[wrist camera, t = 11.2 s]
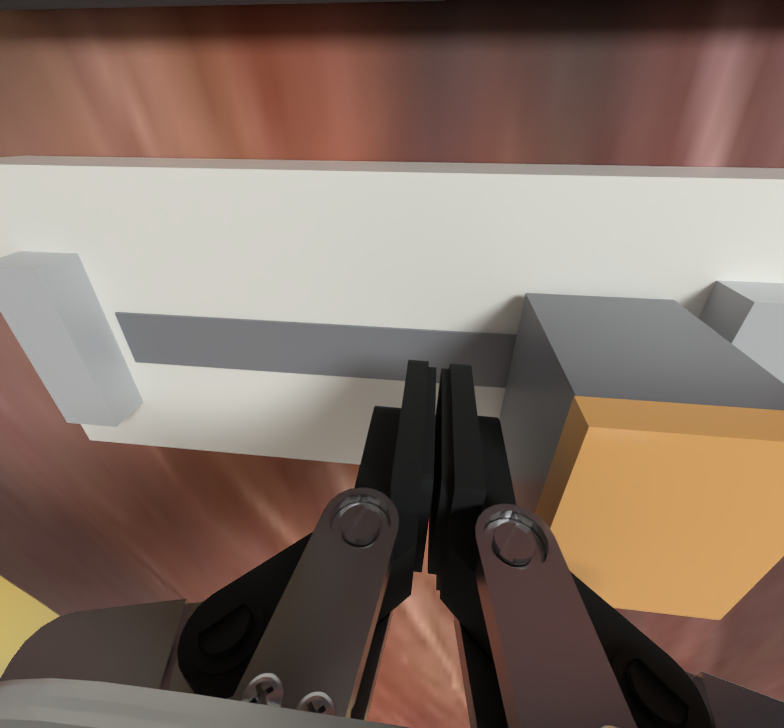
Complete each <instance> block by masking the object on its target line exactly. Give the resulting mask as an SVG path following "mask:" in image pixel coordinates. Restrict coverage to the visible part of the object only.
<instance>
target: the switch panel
mask: <svg viewBox="0 0 784 728" xmlns="http://www.w3.org/2000/svg"><path fill="white" fill-rule="evenodd" d="M525 293H538V294H559V295H581V296H602V297H623V298H645V299H666V300H675V301H676V302H678V303H679V304H680V305H682V306H683V307H684V308H686V309H687V310H688V311H689V312H691V313H692V314H693V315H695V316H696V317H697V318H699V319H700V320H701V321H703V322H704V323H705V324H706V325H708V326H709V327H710V328H712V329H713V330H714V331H716V332H717V333H718V334H720V335H721V336H722V337H723V338H725V339H726V340H727V341H729V342H730V343H731V344H733V345H734V346H735V347H737V348H738V349H739V350H741V351H742V352H743V353H744V354H746V355H747V356H748V357H750V358H751V359H752V360H754V361H755V362H756V363H758V364H759V365H760V366H761V367H763V368H764V369H765V370H767V371H768V372H769V373H771V374H772V375H773V376H775V377H776V378H777V379H778V380H780V381H781V382H782V383H784V168H735V167H675V166H616V165H556V164H496V163H436V162H376V161H317V160H257V159H197V158H137V157H77V156H14V157H1V158H0V312H1V313H2V315H3V317H4V318H5V320H6V322H7V323H8V325H9V327H10V328H11V330H12V332H13V333H14V335H15V337H16V338H17V340H18V342H19V343H20V345H21V347H22V348H23V350H24V352H25V353H26V355H27V357H28V358H29V360H30V362H31V363H32V365H33V367H34V368H35V370H36V372H37V373H38V375H39V377H40V378H41V380H42V382H43V383H44V385H45V387H46V388H47V390H48V392H49V393H50V395H51V397H52V398H53V400H54V401H55V403H56V405H57V406H58V408H59V410H60V411H61V413H62V415H63V416H64V418H65V420H66V421H67V423H77V424H81V426H82V427H83V429H84V431H85V433H86V434H87V436H88V438H89V439H90V440H94V441H105V442H116V443H127V444H138V445H149V446H160V447H171V448H182V449H193V450H205V451H216V452H227V453H238V454H249V455H260V456H271V457H282V458H293V459H304V460H315V461H326V462H337V463H348V464H359V465H360V463H361V459H362V455H363V451H364V447H365V442H366V438H367V434H368V430H369V426H370V421H371V417H372V413H373V409H374V407H375V406H384V407H395V408H401V407H402V400H403V393H404V386H405V379H406V372H407V365H408V360H418V361H429V366H428V367H436V407H437V399H438V391H439V382H440V374H441V368H447V369H449V365H450V363H452V364H464V365H471V367H472V374H473V382H474V390H475V398H476V407H477V415H478V416H488V417H498V418H500V414H501V409H502V404H503V399H504V394H505V390H506V385H507V380H508V375H509V370H510V366H511V361H512V356H513V351H514V346H515V342H516V337H517V332H518V327H519V322H520V318H521V313H522V308H523V303H524V298H525ZM435 415H436V408H435Z"/></svg>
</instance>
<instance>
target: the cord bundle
mask: <svg viewBox="0 0 784 728" xmlns="http://www.w3.org/2000/svg"><path fill="white" fill-rule="evenodd" d="M397 1H443V0H0V10H33V9H79V8H124V7H170V6H215V5H261V4H306V3H352V2H397Z"/></svg>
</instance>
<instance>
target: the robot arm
mask: <svg viewBox="0 0 784 728" xmlns="http://www.w3.org/2000/svg"><path fill="white" fill-rule="evenodd" d="M428 366H429V361H418V360H408V365H407V372H406V379H405V386H404V393H403V400H402V407H401V408H395V407H384V406H375V407H374V409H373V413H372V417H371V421H370V426H369V430H368V434H367V438H366V442H365V447H364V451H363V455H362V459H361V463H360V467H359V472H358V476H357V480H356V484H355V488H354V489H349V490H346V491H344V492H342V493H339V494H338V495H337V496H336V497H334V498H333V499H332V500H331V501H330V502H329V503H328V505H327V506H326V508H325V509H324V511H323V513H322V515H321V517H320V519H319V521H318V523H317V525H316V527H315V529H314V531H313V532H312V533H310V534H309V535H307V536H305V537H304V538H302V539H301V540H299V541H297V542H296V543H294V544H293V545H291V546H289V547H288V548H286V549H285V550H283V551H281V552H280V553H278V554H277V555H275V556H273V557H272V558H270V559H269V560H267V561H265V562H264V563H262V564H261V565H259V566H257V567H256V568H254V569H253V570H251V571H249V572H248V573H246V574H245V575H243V576H241V577H240V578H238V579H237V580H235V581H233V582H232V583H230V584H229V585H227V586H225V587H224V588H222V589H221V590H219V591H217V592H216V593H214V594H213V595H211V596H210V597H209V598H208V599H206V600H205V601H204V602H198V603H190V604H189V603H188V601H187V599H181V600H172V601H163V602H155V603H146V604H137V605H129V606H120V607H112V608H103V609H94V610H86V611H77V612H73V613H70V614H66V615H63V616H60V617H58V618H56V619H55V620H53V621H51V622H49V623H47V624H46V625H44V626H43V627H41V628H40V629H39V630H38V631H36V632H35V633H34V634H33V635H32V636H31V637H30V638H29V639H27V640H26V641H25V642H24V644H23V645H22V646H21V647H20V649H19V650H18V651H17V653H16V654H15V655H14V657H13V658H12V659H11V661H10V663H9V664H8V666H7V668H6V670H5V671H4V673H3V675H2V676H1V678H0V728H408V727H401V726H395V725H389V724H383V723H376V722H370V721H367V717H368V713H369V709H370V705H371V701H372V696H373V692H374V688H375V684H376V680H377V676H378V672H379V668H380V664H381V660H382V655H383V651H384V647H385V643H386V639H387V635H388V631H389V627H390V623H391V618H392V614H393V609H394V608H396V607H397V606H398V605H399V604H400V603H401V602H403V601H404V600H405V599H406V598H407V597H409V596H410V595H411V589H412V580H413V571H415V572H422V566H423V559H424V551H425V544H426V537H427V529H428V522H429V542H428V573H429V574H436V575H437V577H436V590H440V599H441V600H442V601H443V603H444V604H445V605H446V606H447V607H448V609H449V610H450V611H451V612H452V613H453V615H454V626H455V632H456V638H457V645H458V651H459V657H460V664H461V670H462V676H463V683H464V689H465V695H466V702H467V708H468V714H469V721H470V727H471V728H784V702H782V701H779V700H777V699H774V698H771V697H769V696H766V695H763V694H761V693H758V692H755V691H753V690H750V689H747V688H745V687H742V686H739V685H737V684H734V683H731V682H728V681H726V680H723V679H720V678H718V677H715V676H712V675H710V674H707V673H704V672H702V671H701V672H700V673H699V674H697V675H694V674H691V673H688V672H686V671H684V670H683V669H682V668H681V667H680V666H679V665H678V664H677V663H676V662H675V661H674V660H673V659H672V658H671V657H670V656H669V655H668V654H667V653H665V652H664V651H663V650H662V649H661V648H659V647H658V646H657V645H656V644H655V643H654V642H652V641H651V640H650V639H649V638H648V637H647V636H645V635H644V634H643V633H642V632H641V631H640V630H638V629H637V628H636V627H635V626H634V625H633V624H631V623H630V622H629V621H628V620H627V619H626V618H624V617H623V616H622V615H621V614H620V613H619V612H617V611H616V610H615V609H614V608H613V607H612V606H610V605H609V604H608V603H607V602H606V601H605V600H603V599H602V598H601V597H600V596H599V595H598V594H596V593H595V592H594V591H593V590H592V589H590V588H589V587H588V586H587V585H586V584H585V583H583V582H582V581H581V580H580V579H579V578H578V577H576V576H575V575H574V574H573V573H572V572H571V571H570V570H569V568H568V566H567V563H566V561H565V559H564V557H563V554H562V552H561V550H560V547H559V545H558V543H557V540H556V538H555V536H554V534H553V533H552V531H551V529H550V528H549V526H548V525H547V524H546V523H545V522H544V521H543V520H542V519H541V518H540V517H539V516H538V515H536V514H534V513H533V512H531V511H530V510H528V509H526V508H523V507H520V506H518V505H516V500H515V495H514V490H513V484H512V479H511V474H510V469H509V464H508V459H507V454H506V449H505V443H504V438H503V433H502V428H501V423H500V420H499V418H498V417H488V416H478V415H477V407H476V398H475V390H474V382H473V374H472V367H471V365H464V364H452V363H450V365H449V369H447V368H441V374H440V382H439V391H438V399H437V407H436V367H428ZM435 408H436V415H435Z"/></svg>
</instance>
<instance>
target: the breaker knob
mask: <svg viewBox="0 0 784 728" xmlns="http://www.w3.org/2000/svg"><path fill="white" fill-rule="evenodd" d="M499 420H500V423H501V428H502V433H503V438H504V443H505V449H506V454H507V459H508V464H509V469H510V474H511V479H512V484H513V490H514V495H515V500H516V505H518V506H520V507H523V508H526V509H528V510H530V511H531V512H533V513H534V514H536V515H538V516H539V517H540V518H541V519H542V520H543V521H544V522H545V523H546V524H547V525H548V526H549V528H550V529H551V531H552V533H553V534H554V536H555V538H556V540H557V543H558V545H559V547H560V550H561V552H562V554H563V557H564V559H565V561H566V563H567V566H568V568H569V570H570V571H571V572H572V573H573V574H574V575H575V576H576V577H578V578H579V579H580V580H581V581H582V582H583V583H585V584H586V585H587V586H588V587H589V588H590V589H592V590H593V591H594V592H595V593H596V594H598V595H599V596H600V597H601V598H602V599H603V600H605V601H606V602H607V603H608V604H609V605H610V606H612V607H613V608H622V609H630V610H638V611H647V612H655V613H664V614H672V615H681V616H689V617H698V618H706V619H715V620H721V619H722V618H723V617H724V616H725V615H726V614H727V612H728V611H729V610H730V609H731V608H732V607H733V606H734V605H735V604H736V603H737V602H738V601H739V600H740V599H741V598H742V597H743V596H744V595H745V594H746V593H747V592H748V591H749V590H750V589H751V588H752V587H753V586H754V585H755V584H756V583H757V582H758V581H759V580H760V579H761V578H762V577H763V576H764V575H765V574H766V573H767V572H768V571H769V570H770V569H771V568H772V567H773V566H774V565H775V564H776V563H777V562H778V561H779V560H780V559H781V558H782V557H783V556H784V383H782V382H781V381H780V380H778V379H777V378H776V377H775V376H773V375H772V374H771V373H769V372H768V371H767V370H765V369H764V368H763V367H761V366H760V365H759V364H758V363H756V362H755V361H754V360H752V359H751V358H750V357H748V356H747V355H746V354H744V353H743V352H742V351H741V350H739V349H738V348H737V347H735V346H734V345H733V344H731V343H730V342H729V341H727V340H726V339H725V338H723V337H722V336H721V335H720V334H718V333H717V332H716V331H714V330H713V329H712V328H710V327H709V326H708V325H706V324H705V323H704V322H703V321H701V320H700V319H699V318H697V317H696V316H695V315H693V314H692V313H691V312H689V311H688V310H687V309H686V308H684V307H683V306H682V305H680V304H679V303H678V302H676V301H675V300H666V299H645V298H623V297H602V296H581V295H559V294H538V293H525V298H524V303H523V308H522V313H521V318H520V322H519V327H518V332H517V337H516V342H515V346H514V351H513V356H512V361H511V366H510V370H509V375H508V380H507V385H506V390H505V394H504V399H503V404H502V409H501V414H500V418H499Z"/></svg>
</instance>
